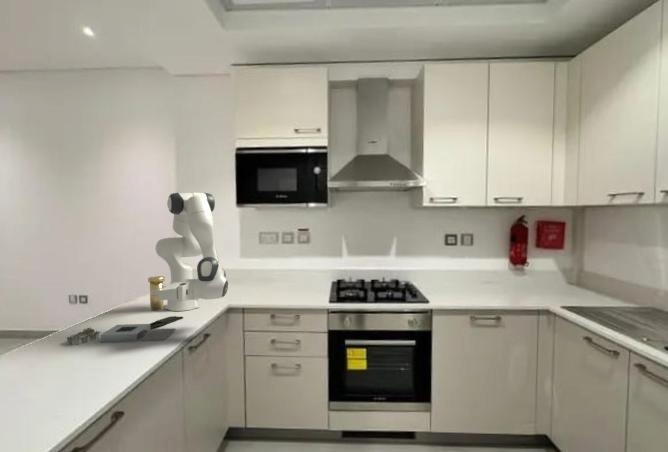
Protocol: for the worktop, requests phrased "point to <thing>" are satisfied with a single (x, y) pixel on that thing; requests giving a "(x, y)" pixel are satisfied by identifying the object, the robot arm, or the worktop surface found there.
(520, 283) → the worktop surface
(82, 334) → the egg carton
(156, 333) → the mat
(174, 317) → the wood
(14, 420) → the worktop surface
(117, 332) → the housing
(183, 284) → the robot arm
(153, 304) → the round headed pin
